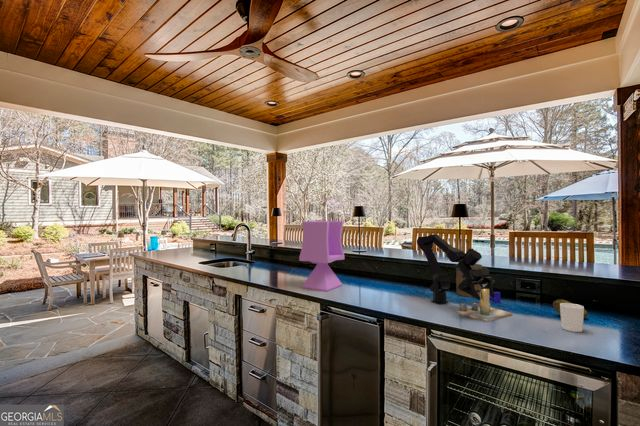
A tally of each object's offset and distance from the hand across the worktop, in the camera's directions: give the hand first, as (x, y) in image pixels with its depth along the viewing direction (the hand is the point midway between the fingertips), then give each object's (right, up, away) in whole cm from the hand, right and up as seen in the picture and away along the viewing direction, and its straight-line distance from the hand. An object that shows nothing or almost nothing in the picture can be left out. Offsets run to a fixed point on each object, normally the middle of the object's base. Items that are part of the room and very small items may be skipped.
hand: (487, 298), depth 145 cm
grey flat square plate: (0, -9, +1) cm, 9 cm away
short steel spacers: (+1, -8, +10) cm, 13 cm away
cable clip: (+20, -10, +31) cm, 38 cm away
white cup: (+28, -9, -14) cm, 33 cm away
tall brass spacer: (-1, -8, +1) cm, 8 cm away
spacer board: (+2, -9, +7) cm, 12 cm away
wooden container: (+13, -10, +45) cm, 48 cm away
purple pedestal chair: (-77, -11, +67) cm, 102 cm away
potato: (+39, -9, +1) cm, 41 cm away
